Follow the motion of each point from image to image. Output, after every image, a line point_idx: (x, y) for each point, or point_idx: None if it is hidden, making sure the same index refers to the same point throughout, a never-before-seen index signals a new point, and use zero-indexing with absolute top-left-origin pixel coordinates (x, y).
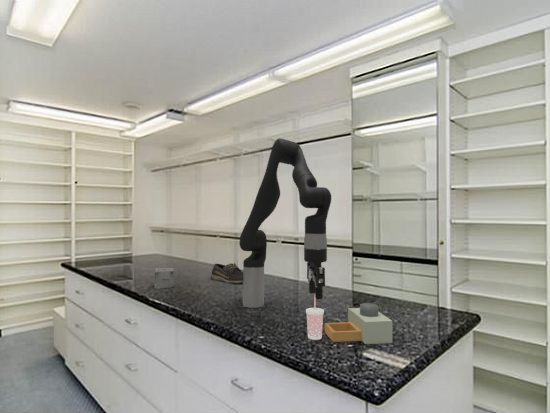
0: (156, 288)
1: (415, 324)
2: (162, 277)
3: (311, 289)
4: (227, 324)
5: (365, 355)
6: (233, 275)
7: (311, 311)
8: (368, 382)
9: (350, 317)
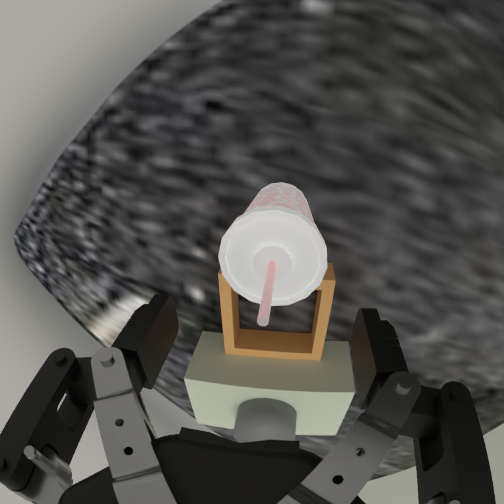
0: None
1: (318, 444)
2: None
3: (361, 338)
4: None
5: (131, 298)
6: None
7: (254, 237)
8: (30, 247)
9: (328, 371)
